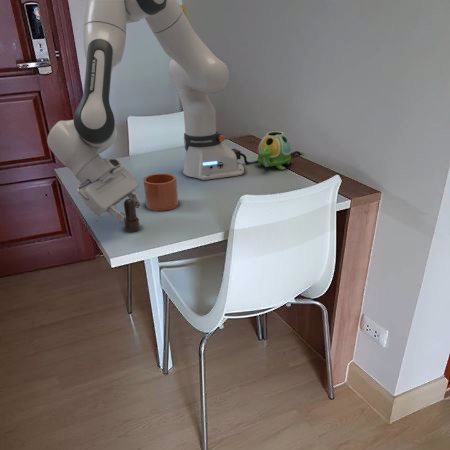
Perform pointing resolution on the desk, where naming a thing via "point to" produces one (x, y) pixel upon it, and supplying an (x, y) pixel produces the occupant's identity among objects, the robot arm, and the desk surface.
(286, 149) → the turtle holder
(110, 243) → the desk surface
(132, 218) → the pestle
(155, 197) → the cup
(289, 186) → the desk surface
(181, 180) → the desk surface
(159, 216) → the desk surface
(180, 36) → the robot arm
